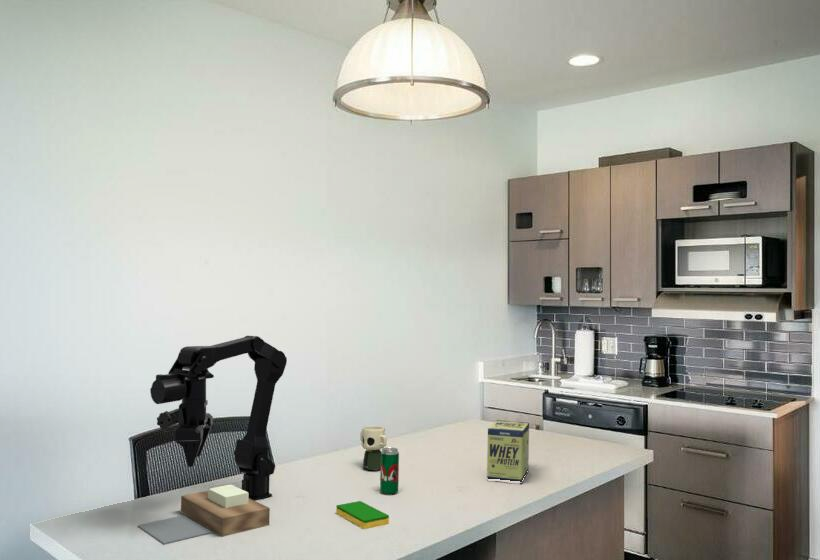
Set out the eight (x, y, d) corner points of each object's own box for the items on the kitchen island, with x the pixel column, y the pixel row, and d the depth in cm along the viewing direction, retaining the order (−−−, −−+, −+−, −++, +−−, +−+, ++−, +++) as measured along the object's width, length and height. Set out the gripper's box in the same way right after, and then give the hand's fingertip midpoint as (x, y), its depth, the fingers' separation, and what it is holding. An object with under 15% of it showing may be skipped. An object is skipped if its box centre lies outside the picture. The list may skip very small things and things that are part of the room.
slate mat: (183, 516, 169) (183, 515, 169) (211, 533, 158) (211, 531, 158) (137, 526, 162) (137, 524, 162) (164, 544, 151) (164, 543, 151)
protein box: (486, 481, 205) (487, 428, 205) (495, 468, 220) (496, 419, 220) (521, 485, 202) (522, 431, 202) (529, 471, 216) (529, 421, 217)
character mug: (352, 468, 217) (352, 426, 217) (368, 464, 222) (368, 423, 223) (377, 474, 210) (378, 431, 210) (393, 470, 215) (394, 428, 215)
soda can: (400, 490, 194) (401, 447, 194) (395, 496, 189) (396, 451, 189) (383, 489, 195) (384, 446, 195) (377, 494, 190) (378, 450, 190)
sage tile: (230, 494, 174) (230, 484, 174) (248, 503, 168) (248, 492, 168) (208, 499, 170) (208, 488, 170) (225, 507, 164) (225, 497, 164)
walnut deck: (225, 502, 180) (225, 487, 181) (269, 524, 164) (269, 507, 164) (180, 512, 172) (181, 495, 172) (222, 536, 156) (222, 518, 156)
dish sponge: (360, 509, 178) (360, 500, 178) (389, 525, 166) (389, 515, 167) (335, 514, 174) (335, 504, 174) (364, 530, 162) (364, 520, 162)
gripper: (168, 392, 179) (168, 452, 179) (150, 406, 160) (150, 473, 160) (213, 391, 180) (213, 451, 180) (200, 404, 161) (200, 471, 162)
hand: (194, 461), depth 171 cm, fingers open, 9 cm apart
